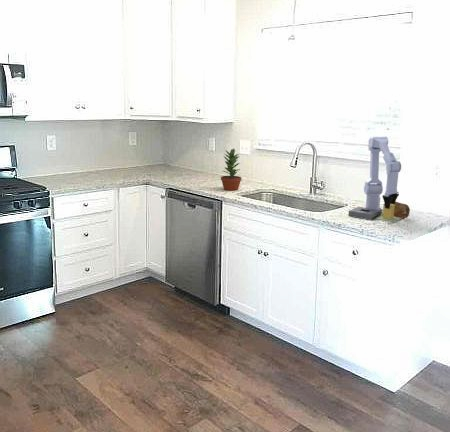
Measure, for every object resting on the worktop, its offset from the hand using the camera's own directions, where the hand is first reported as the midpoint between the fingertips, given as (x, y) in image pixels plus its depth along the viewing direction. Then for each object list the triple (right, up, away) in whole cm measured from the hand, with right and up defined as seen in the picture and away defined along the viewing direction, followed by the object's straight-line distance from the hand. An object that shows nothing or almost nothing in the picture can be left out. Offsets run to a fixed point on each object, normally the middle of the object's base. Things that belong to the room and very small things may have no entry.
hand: (389, 207), depth 289 cm
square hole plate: (-12, -5, +9) cm, 15 cm away
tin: (+7, -6, +7) cm, 12 cm away
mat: (0, -7, +2) cm, 7 cm away
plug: (0, -6, +2) cm, 6 cm away
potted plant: (-88, +14, +77) cm, 118 cm away
